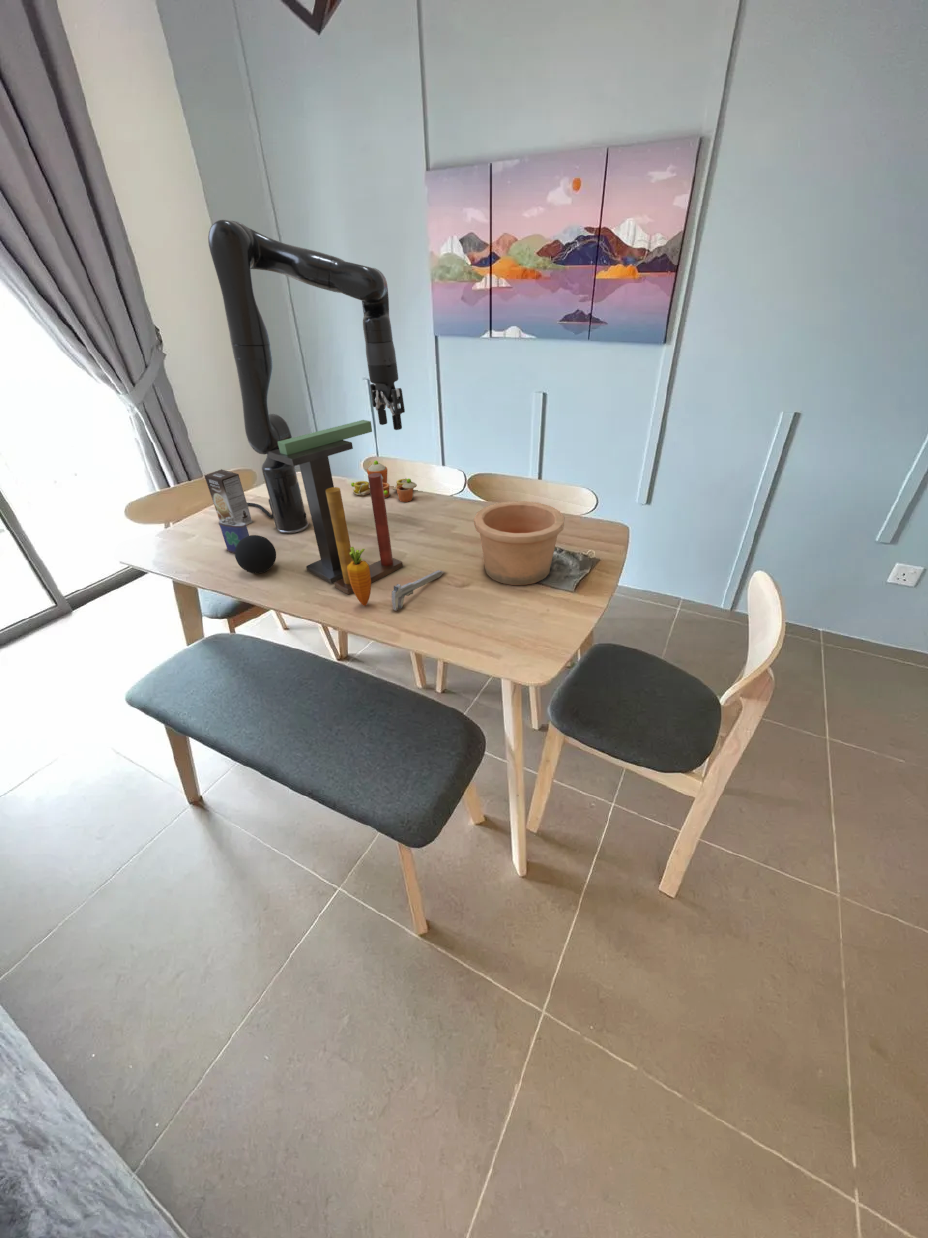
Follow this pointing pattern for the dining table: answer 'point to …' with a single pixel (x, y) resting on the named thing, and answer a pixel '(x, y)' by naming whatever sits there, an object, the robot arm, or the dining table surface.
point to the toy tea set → (386, 484)
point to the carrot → (359, 576)
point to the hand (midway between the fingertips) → (390, 426)
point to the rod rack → (382, 531)
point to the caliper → (410, 589)
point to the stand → (319, 502)
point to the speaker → (255, 554)
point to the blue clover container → (233, 532)
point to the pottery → (518, 540)
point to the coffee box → (228, 496)
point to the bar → (324, 437)
